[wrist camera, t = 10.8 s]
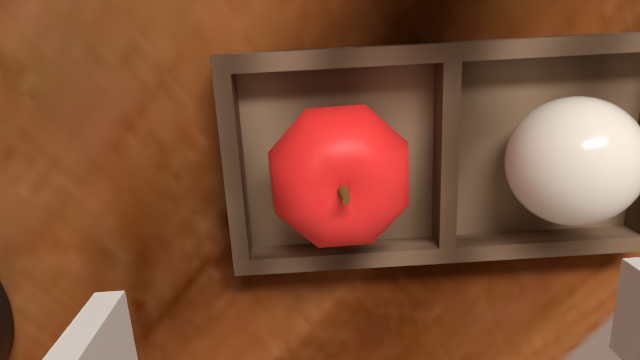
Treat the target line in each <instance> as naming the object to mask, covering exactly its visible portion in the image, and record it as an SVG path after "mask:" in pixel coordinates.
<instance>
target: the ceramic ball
mask: <svg viewBox="0 0 640 360" xmlns="http://www.w3.org/2000/svg"><path fill="white" fill-rule="evenodd" d="M504 168H505V174H506V178H507V182H508V184H509V186H510V188H511V190H512V192H513V194H514V195H515V197H516V198H517V199H518V200H519V202H520V203H521V204H522V205H523V206H524V207H525V208H526V209H528V210H529V211H530V212H532V213H533V214H535V215H537V216H538V217H540V218H542V219H544V220H547V221H549V222H552V223H556V224H560V225H567V226H585V225H592V224H597V223H600V222H603V221H606V220H608V219H610V218H612V217H615V216H617V215H618V214H620V213H621V212H623V211H624V210H625V209H627V208H628V207H629V206H630V205H631V204H632V203H633V202H634V201H635V200H636V199H637V197H638V196H639V195H640V126H639V124H638V123H637V122H636V121H635V120H634V118H633V117H632V116H630V115H629V114H628V113H627V112H626V111H624V110H623V109H621V108H620V107H618V106H617V105H614V104H612V103H610V102H608V101H605V100H601V99H598V98H593V97H585V96H573V97H565V98H560V99H556V100H553V101H550V102H547V103H545V104H543V105H541V106H539V107H537V108H536V109H534V110H533V111H531V112H530V113H529V114H527V115H526V116H525V117H524V118H523V119H522V120H521V121H520V122H519V124H518V125H517V126H516V128H515V129H514V131H513V132H512V134H511V136H510V138H509V141H508V143H507V146H506V150H505V157H504Z"/></svg>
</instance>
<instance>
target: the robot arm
mask: <svg viewBox="0 0 640 360" xmlns="http://www.w3.org/2000/svg"><path fill="white" fill-rule="evenodd" d="M12 338H13V321H12V314H11V310H10V306H9V303H8V300H7V297H6V295H5V292H4V290H3V288H2V286H1V284H0V360H7V358H8V355H9V352H10V349H11V345H12ZM609 347H610V348H611V349H612V350H613V351H614V352H615V353H616V354H617V355H618V356H619V357H620V358H621V359H622V360H640V257H636V258H622V262H621V269H620V276H619V283H618V290H617V297H616V304H615V311H614V318H613V325H612V332H611V339H610V346H609ZM42 360H138V358H137V353H136V348H135V342H134V337H133V332H132V326H131V321H130V316H129V311H128V305H127V300H126V295H125V291H112V292H96V293H94V294H93V296H92V297H91V298H90V300H89V301H88V302H87V303H86V305H85V306H84V307H83V308H82V310H81V311H80V312H79V314H78V315H77V316H76V317H75V319H74V320H73V321H72V322H71V324H70V325H69V326H68V327H67V329H66V330H65V331H64V333H63V334H62V335H61V336H60V338H59V339H58V340H57V341H56V343H55V344H54V345H53V347H52V348H51V349H50V350H49V352H48V353H47V354H46V355H45V357H44V358H43V359H42Z"/></svg>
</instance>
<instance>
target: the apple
mask: <svg viewBox="0 0 640 360" xmlns="http://www.w3.org/2000/svg"><path fill="white" fill-rule="evenodd" d="M268 161H269V170H270V180H271V189H272V199H273V208H274V210H275V212H276V215H277V216H278V217H280V218H281V219H282V220H283V221H285V222H286V223H287V224H289V225H290V226H291V227H292V228H294V229H295V230H296V231H297V232H299V233H300V234H301V235H303V236H304V237H305V238H306V239H308V240H309V241H310V242H312V243H313V244H314V245H315V246H317V247H318V248H325V247H338V246H351V245H364V244H373V243H374V242H375V240H376V239H377V238H378V237H379V236H380V235H381V234H382V233H383V232H384V231H385V230H386V229H387V228H388V227H389V226H390V225H391V224H392V223H393V222H394V221H395V220H396V219H397V218H398V217H399V216H400V215H401V213H402V212H403V211H404V210H405V209H406V208H407V207H408V206H409V205H410V202H409V150H408V142H407V141H406V140H405V139H404V138H403V137H401V136H400V135H399V134H398V133H397V132H396V131H395V130H394V129H392V128H391V127H390V126H389V125H388V124H387V123H386V122H385V121H383V120H382V119H381V118H380V117H379V116H378V115H377V114H376V113H374V112H373V111H372V110H371V109H370V108H369V107H368V106H367V105H365V104H361V105H348V106H335V107H321V108H308V109H305V110H304V111H303V112H302V113H301V115H300V116H299V117H298V118H297V119H296V120H295V122H294V123H293V124H292V125H291V126H290V127H289V129H288V130H287V131H286V132H285V133H284V134H283V136H282V137H281V138H280V139H279V140H278V141H277V143H276V144H275V145H274V146H273V147H272V148H271V150H270V151H269V152H268Z"/></svg>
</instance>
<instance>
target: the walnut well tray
mask: <svg viewBox="0 0 640 360" xmlns="http://www.w3.org/2000/svg"><path fill="white" fill-rule="evenodd" d="M210 63H211V72H212V81H213V90H214V98H215V107H216V116H217V125H218V134H219V143H220V152H221V160H222V169H223V178H224V187H225V196H226V205H227V214H228V222H229V231H230V240H231V249H232V258H233V267H234V276H246V275H262V274H279V273H295V272H312V271H329V270H345V269H362V268H378V267H395V266H412V265H428V264H445V263H461V262H478V261H495V260H511V259H528V258H545V257H561V256H578V255H594V254H611V253H628V252H640V195H639V196H638V197H637V199H636V200H635V201H634V202H633V203H632V204H631V205H630V206H629V207H628V208H627V209H625V210H624V211H623V212H621V213H620V214H618V215H617V216H615V217H612V218H610V219H608V220H606V221H603V222H600V223H597V224H592V225H585V226H567V225H560V224H556V223H552V222H549V221H547V220H544V219H542V218H540V217H538V216H537V215H535V214H533V213H532V212H530V211H529V210H528V209H526V208H525V207H524V206H523V205H522V204H521V203H520V202H519V200H518V199H517V198H516V197H515V195H514V194H513V192H512V190H511V188H510V186H509V184H508V182H507V178H506V174H505V168H504V157H505V150H506V146H507V143H508V141H509V138H510V136H511V134H512V132H513V131H514V129H515V128H516V126H517V125H518V124H519V122H520V121H521V120H522V119H523V118H524V117H525V116H526V115H527V114H529V113H530V112H531V111H533V110H534V109H536V108H537V107H539V106H541V105H543V104H545V103H547V102H550V101H553V100H556V99H560V98H565V97H573V96H585V97H593V98H598V99H601V100H605V101H608V102H610V103H612V104H614V105H617V106H618V107H620V108H621V109H623V110H624V111H626V112H627V113H628V114H629V115H630V116H632V117H633V118H634V120H635V121H636V122H637V123H638V124H639V126H640V31H639V32H620V33H602V34H583V35H564V36H545V37H527V38H508V39H489V40H470V41H451V42H433V43H414V44H395V45H376V46H358V47H339V48H320V49H301V50H282V51H264V52H245V53H226V54H215V55H211V56H210ZM361 104H365V105H367V106H368V107H369V108H370V109H371V110H372V111H373V112H374V113H376V114H377V115H378V116H379V117H380V118H381V119H382V120H383V121H385V122H386V123H387V124H388V125H389V126H390V127H391V128H392V129H394V130H395V131H396V132H397V133H398V134H399V135H400V136H401V137H403V138H404V139H405V140H406V141H407V142H408V150H409V202H410V205H409V206H408V207H407V208H406V209H405V210H404V211H403V212H402V213H401V215H400V216H399V217H398V218H397V219H396V220H395V221H394V222H393V223H392V224H391V225H390V226H389V227H388V228H387V229H386V230H385V231H384V232H383V233H382V234H381V235H380V236H379V237H378V238H377V239H376V240H375V242H374V243H373V244H364V245H351V246H338V247H325V248H318V247H317V246H315V245H314V244H313V243H312V242H310V241H309V240H308V239H306V238H305V237H304V236H303V235H301V234H300V233H299V232H297V231H296V230H295V229H294V228H292V227H291V226H290V225H289V224H287V223H286V222H285V221H283V220H282V219H281V218H280V217H278V216H277V215H276V212H275V210H274V208H273V199H272V189H271V180H270V170H269V161H268V152H269V151H270V150H271V148H272V147H273V146H274V145H275V144H276V143H277V141H278V140H279V139H280V138H281V137H282V136H283V134H284V133H285V132H286V131H287V130H288V129H289V127H290V126H291V125H292V124H293V123H294V122H295V120H296V119H297V118H298V117H299V116H300V115H301V113H302V112H303V111H304V110H305V109H308V108H321V107H335V106H348V105H361Z"/></svg>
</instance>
